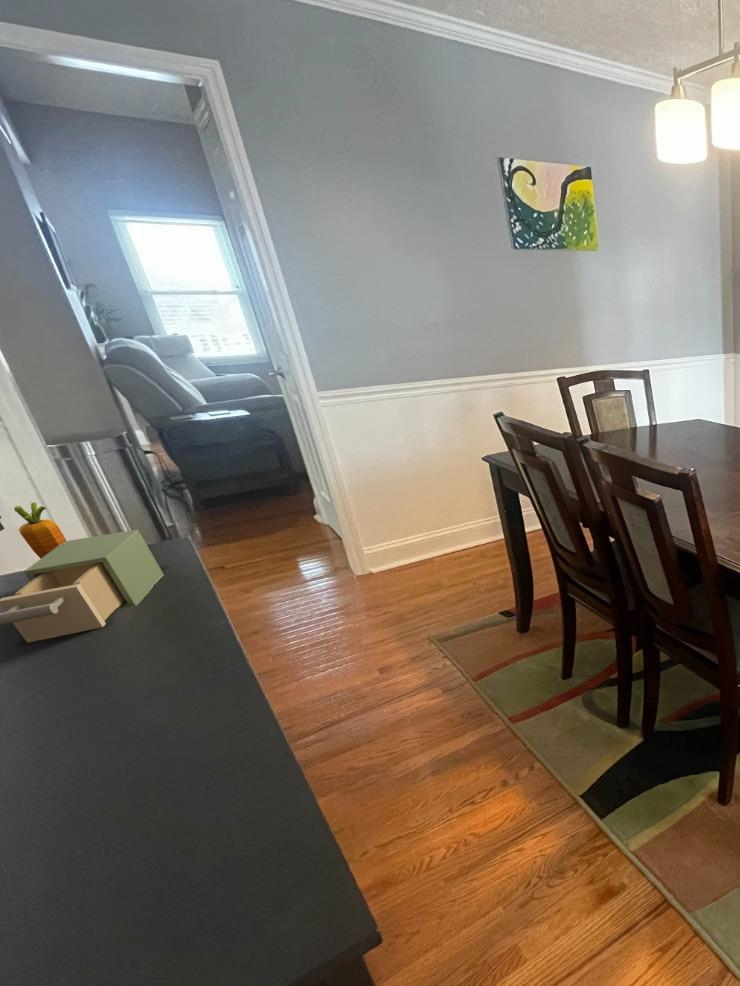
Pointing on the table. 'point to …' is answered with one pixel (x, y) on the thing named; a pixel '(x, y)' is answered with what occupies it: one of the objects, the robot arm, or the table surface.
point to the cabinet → (108, 562)
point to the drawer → (62, 602)
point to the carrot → (39, 531)
